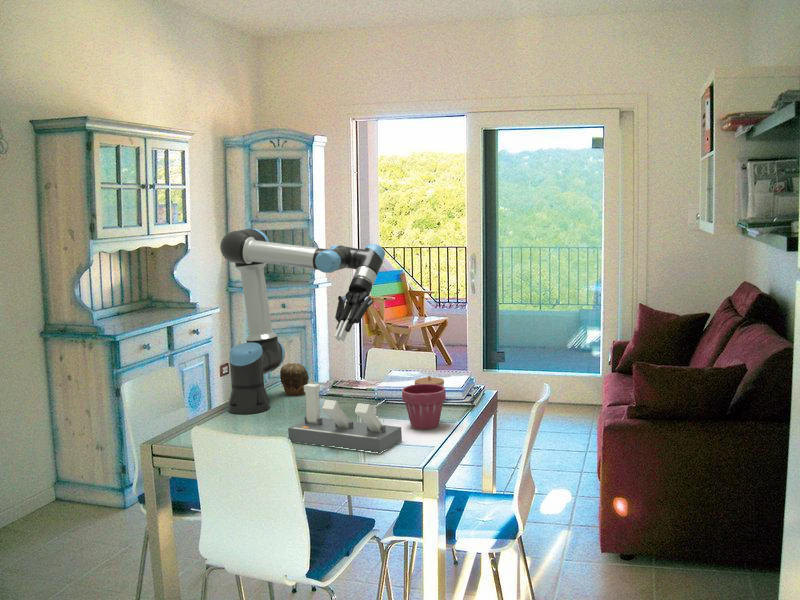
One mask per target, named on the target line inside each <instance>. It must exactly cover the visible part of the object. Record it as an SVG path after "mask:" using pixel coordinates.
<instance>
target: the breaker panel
mask: <svg viewBox="0 0 800 600" xmlns="http://www.w3.org/2000/svg"><path fill="white" fill-rule="evenodd" d="M287 431H288V433H287V434H288V440H289V439H290V440H291V441H292V442H291V443H293V442H300V443H307V444H306V445H308V444H315V445H324V446H335V447H343V448H349V449H356V450H364V451H371V452H378V453H381V452H382V451H384V450H386V449H388V448H390V447H391V446H393V445H394V446H396V445H398V444H399V443H401V442H402V441H403V436H402V433H403V432H402V426H395V425H389V424H388V425H387V424H382V431H372V430H369V428H368V427H367V426H366V424H365V423H364V422H361V421H351V420H350V422H349V427H339V426H337V424H336V423H335V422H334V420H333V419H332V418H327V417H320V418H319V419H318V424H317V423H308V422H307V415H306V416H304V420H302V421H301V422H298V423H296V424H294V425H292V426H290V427H287ZM400 441H401V442H400ZM398 442H399V443H398ZM300 443H299V444H300ZM397 443H398V444H397ZM395 444H396V445H395ZM315 445H314V446H315ZM394 446H393V447H394ZM391 448H392V447H391ZM391 448H390V449H391ZM388 450H389V449H388ZM386 451H387V450H386ZM381 454H382V453H381Z"/></svg>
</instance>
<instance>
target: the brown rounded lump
mask: <svg viewBox="0 0 800 600" xmlns="http://www.w3.org/2000/svg"><path fill="white" fill-rule="evenodd" d="M279 378H280V383H281V384H282V386H283V391H284V393H285V395H287V396H291V397H295V396H296V397H298V396H304V395H305V396H306V394H305V392H304V385H307V384H309V378H310V377H309V373H308V370H307V369H306V367H305V366H304V365H303V364H301V363H295V362H291V363H290V362H288V363H286V364H284V365H282V367H281V368H280V372H279Z"/></svg>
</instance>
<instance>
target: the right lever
mask: <svg viewBox="0 0 800 600" xmlns="http://www.w3.org/2000/svg"><path fill="white" fill-rule="evenodd" d="M372 409H373V407H372V406H371V404H370V403H369V404H368V403H359V402H358V403H357V404H356V407H355V410H354V413H355V414H356V416H359V418H360V419H361V420H362V421H363V423H365V424H366V426H367V427H368V428H369V430H372V431H382V425H383V424H382V423H381V421H380V420H379V418H378V417H377V415H376V414H375V413H374V411H373V410H372Z"/></svg>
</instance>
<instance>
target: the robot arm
mask: <svg viewBox="0 0 800 600" xmlns="http://www.w3.org/2000/svg"><path fill="white" fill-rule="evenodd" d="M219 248H220V252H221V255H222V256H223V257H224V259H225V260H227V261H228V262H231V263H234V264H235V268H236V269H237V270H238V271H239V272H240V277H241V278H240V279H241V283H242V284H241V285H242V291H243V297H244V305H245V312H246V317H247V319H246V321H247V324H248V331H249V333H248V336H247V338H245V339H246V342H243V343H239V344H236V345H234V346H233V347H231V349H230V351H229V358H228V359H229V367H230V381H231V391H230V395H229V398H228V404H227V411H228V412H229V413H232V414H237V415H250V414H257V413H258V414H259V413H262V412H265V411H267V410H269V409H271V401H270V398H269V395H268V393H267V390H266V388H265V379H264V375H266V374H268V373H271V372H273V371H275V370H276V369H278V368H279V367H280V366H281V365H282V364H283V362H284V359H285V354H286V353H285V351H286V350H285V348H284V345H283V343H281V342H280V340H279V339H278V334H277V333H275V332H274V331H273V324H272V318H271V312H270V311H271V310H270V306H269V298H268V290H267V286H266V285H267V283H266V277H265V270H264V269H265V267H266V266H267V265H268V264H270V265H277V266H278V265H279V266H287V267H294V268H299V269H300V268H301V269H309V270H317V271H320V272H321V273H325V274H327V273H328V274H329V273H334V272H336V271H340V270H343V269H351V270H355V272H354V275H353V276H352V279H351V281H350V284H349V287H348V291H347V292H346V293H345V295H343V296H341V295H339V296H338V297H337V301H338V303H337V307H336V308H337V309H336V312H335V316H334V317H335V320H336V321H337V322H338V323H337V325H336V327H335V328H336V332H335V334H334V337H335V339H336V340H337V341H339V342H340V341H342V342H345V339H346V337H347V335H348V333H349V332H351V330H352V326H353V325H355V324H360V322H361V320H362V318H363V317H364V315H365V314H366V312H367V310H368V308H369V307H371V306H372V304H373V303H374V301H373V300H372V298H371V297H369V296H370V294H371V291H372V289H373V286H374V284H375V282H376V279H377V277H378V274H379V271H380V270H381V267H382V265H383V263H384V259H385V256H386V252H385V250H384V248H383V247H382V246H381V245H379V244H377V243H369V244H367V245H366V246H365V248H356V247H350V246H345V245H342V244H341V245H336V244H335V245H334V244H333V245H331V246H330V247H329V248H319V247H313V246H312V247H311V246H304V245H296V244H295V245H294V244H287V243H279V242H272V241H271V242H270V240H269V238H268V237H267V234H265V233H264V232H262V231H261V230H260V229H256V228H246V229H240V230H239V229H238V230H233V231H230V232H228V233H226V234H225V235H224V236H223V237H222V239H221V241H220V245H219Z"/></svg>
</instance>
